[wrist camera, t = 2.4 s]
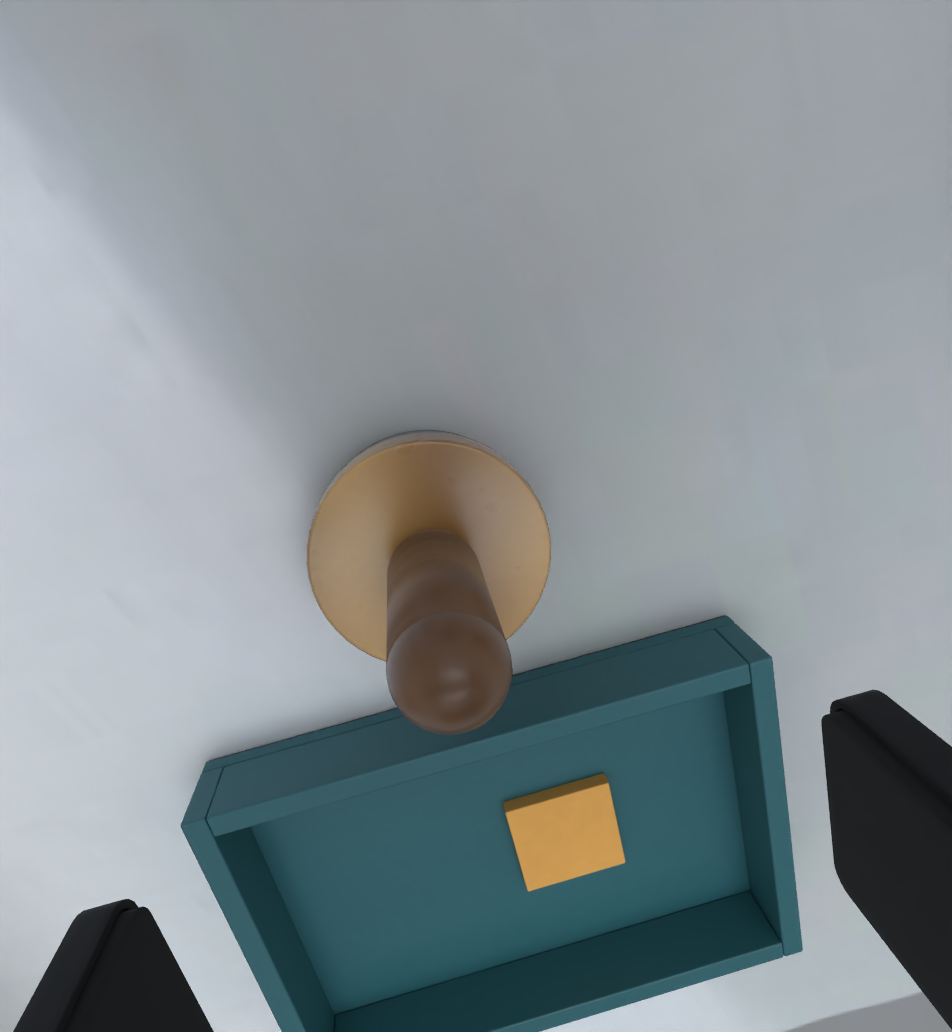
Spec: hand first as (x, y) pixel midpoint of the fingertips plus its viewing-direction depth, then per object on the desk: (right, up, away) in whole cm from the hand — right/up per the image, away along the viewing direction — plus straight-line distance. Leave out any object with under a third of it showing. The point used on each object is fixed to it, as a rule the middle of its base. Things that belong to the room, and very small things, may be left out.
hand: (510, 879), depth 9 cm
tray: (+1, -7, +17) cm, 19 cm away
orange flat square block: (+3, -7, +17) cm, 19 cm away
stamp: (-2, +4, +13) cm, 14 cm away
